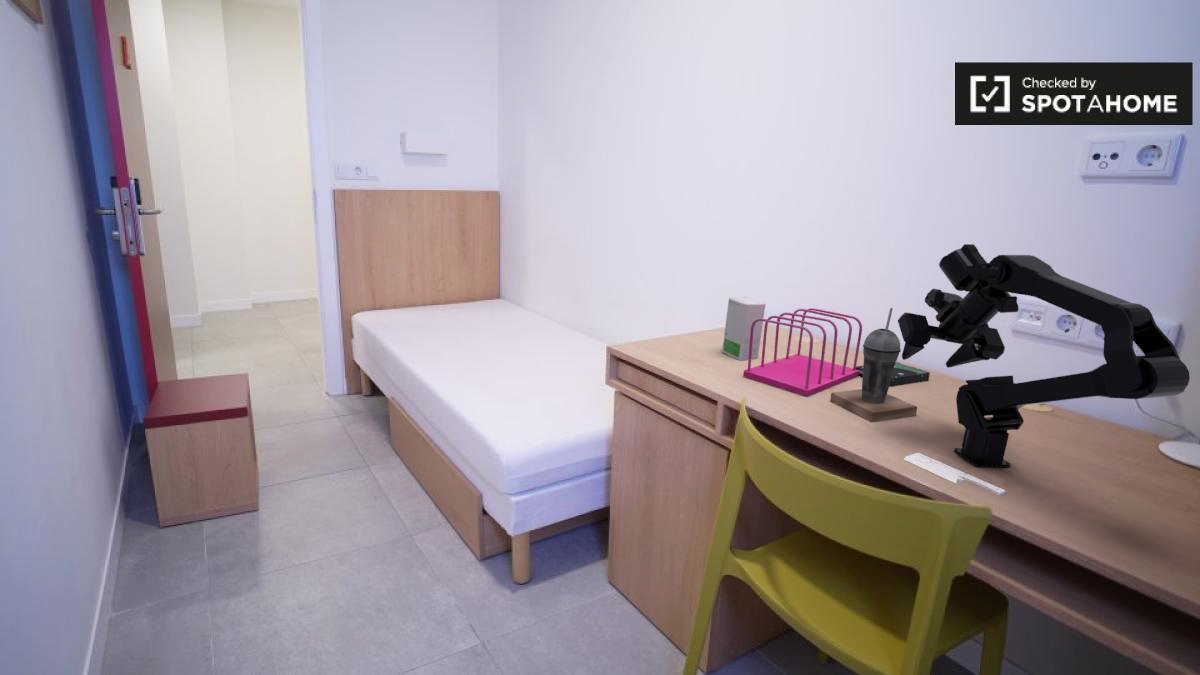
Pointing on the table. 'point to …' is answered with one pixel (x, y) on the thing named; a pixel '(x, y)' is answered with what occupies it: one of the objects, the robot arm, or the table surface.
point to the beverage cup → (879, 363)
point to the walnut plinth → (873, 406)
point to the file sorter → (803, 358)
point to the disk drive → (903, 374)
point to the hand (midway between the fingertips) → (925, 361)
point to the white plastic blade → (948, 471)
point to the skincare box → (743, 327)
